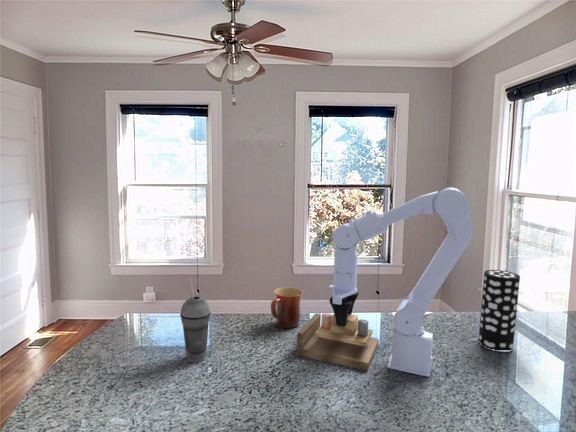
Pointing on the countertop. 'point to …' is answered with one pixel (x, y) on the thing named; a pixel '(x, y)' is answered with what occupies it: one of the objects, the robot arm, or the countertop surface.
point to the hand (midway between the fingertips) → (343, 322)
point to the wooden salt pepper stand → (345, 330)
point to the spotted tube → (498, 309)
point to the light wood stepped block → (333, 347)
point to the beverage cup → (195, 327)
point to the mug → (287, 306)
